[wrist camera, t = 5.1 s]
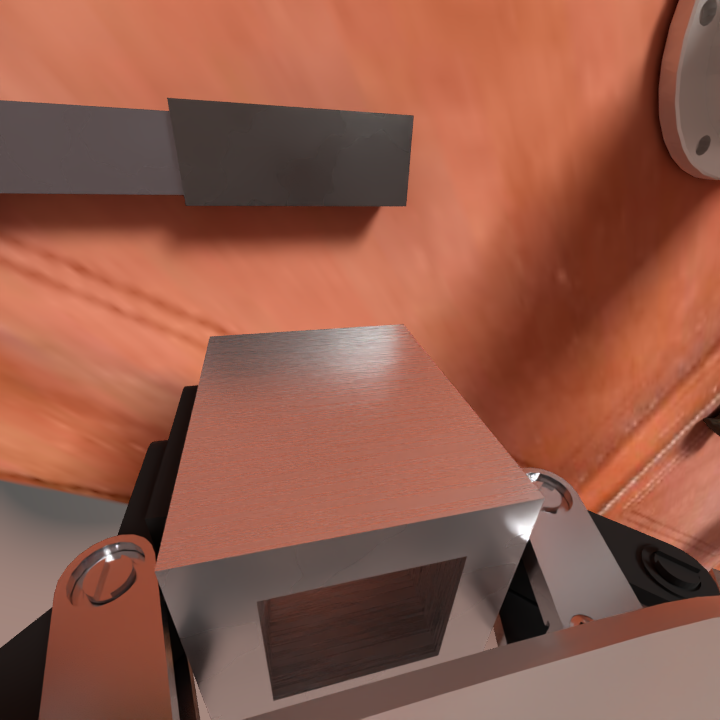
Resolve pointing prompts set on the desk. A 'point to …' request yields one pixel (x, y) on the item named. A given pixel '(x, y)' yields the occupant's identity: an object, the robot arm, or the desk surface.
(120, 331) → the desk surface
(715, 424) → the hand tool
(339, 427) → the socket
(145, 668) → the robot arm
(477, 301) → the desk surface
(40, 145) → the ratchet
